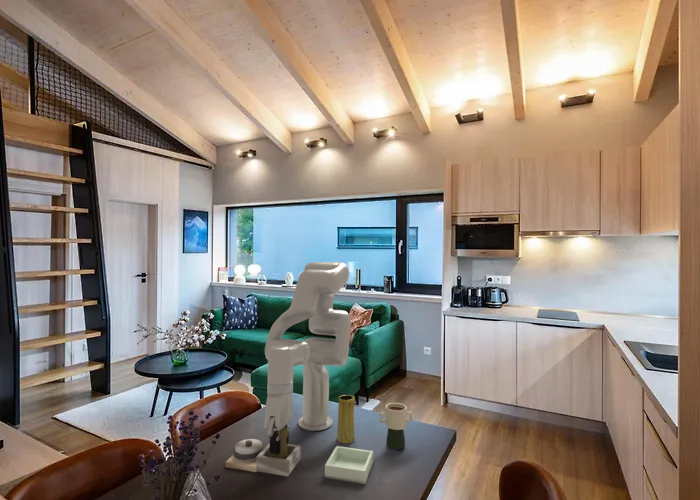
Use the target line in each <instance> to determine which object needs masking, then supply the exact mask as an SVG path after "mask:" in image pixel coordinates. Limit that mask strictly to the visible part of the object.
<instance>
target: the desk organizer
mask: <svg viewBox="0 0 700 500" xmlns="http://www.w3.org/2000/svg"><path fill="white" fill-rule="evenodd" d="M287 449H288V457H287V459H280V458H273V457H270V442H269V443H268V444H267V445H266V446H265V447H264V444H263V442H262V441H261V440H260V439H256V438H248V439H243V440H240V441H238V442H237V443H236V444H235V446H234V447H233V454H232V455H231V457H229V458H228V459H227V460H226V461H225V468H229V469H233V470H239V471H240V470H241V471H246V472H252V473H257V472H259V473H264V474H265V473H266V474H269V475H270V474H272V475H278V476H282V477H289V475H290V474H291V473H292V471H294V469H295V468H296V466H297V465H298V463H299V462H300V461H301V460H302V445H299V444H292V443H291V444H290V443H288V445H287Z"/></svg>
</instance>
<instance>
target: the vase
mask: <svg viewBox="0 0 700 500" xmlns="http://www.w3.org/2000/svg"><path fill="white" fill-rule="evenodd" d="M337 407H338V411H337V412H338V413H337V414H338V416H337V430H336V431H337V432H336V433H337V434H336V435H337V436H336V440H337V442H338V443H340V444H348V445H349V444H351V443H353V442H355V440H356V439H355V438H356V437H355V396H353V395H350V394H342V395H340V396H338V406H337Z"/></svg>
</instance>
